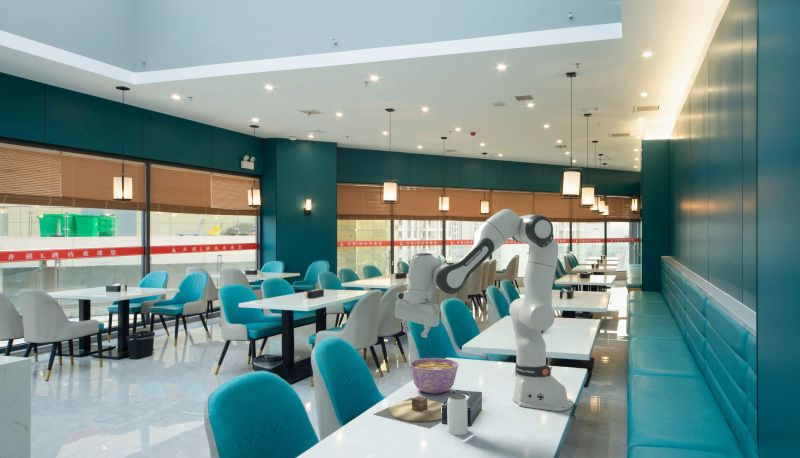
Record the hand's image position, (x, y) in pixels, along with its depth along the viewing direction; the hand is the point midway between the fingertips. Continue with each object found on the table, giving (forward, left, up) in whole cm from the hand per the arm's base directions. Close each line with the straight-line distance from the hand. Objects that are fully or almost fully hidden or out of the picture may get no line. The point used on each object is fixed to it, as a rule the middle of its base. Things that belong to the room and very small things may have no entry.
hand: (414, 334), depth 200 cm
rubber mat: (-3, +1, -28) cm, 28 cm away
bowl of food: (+7, -24, -28) cm, 38 cm away
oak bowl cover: (-3, +1, -27) cm, 27 cm away
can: (-24, +10, -28) cm, 38 cm away
